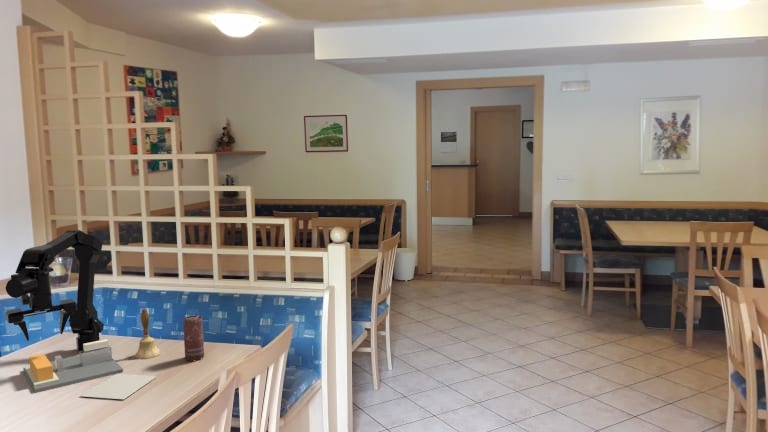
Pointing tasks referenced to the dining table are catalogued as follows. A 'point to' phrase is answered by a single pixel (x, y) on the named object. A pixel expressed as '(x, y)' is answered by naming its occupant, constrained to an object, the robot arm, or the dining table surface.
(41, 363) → the orange block
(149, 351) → the hand bell
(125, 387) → the paper stack
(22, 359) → the dining table surface
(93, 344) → the cream bar
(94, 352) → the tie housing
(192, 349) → the can
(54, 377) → the pad
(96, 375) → the slate board
